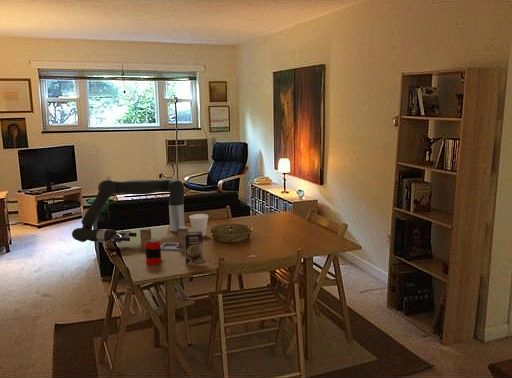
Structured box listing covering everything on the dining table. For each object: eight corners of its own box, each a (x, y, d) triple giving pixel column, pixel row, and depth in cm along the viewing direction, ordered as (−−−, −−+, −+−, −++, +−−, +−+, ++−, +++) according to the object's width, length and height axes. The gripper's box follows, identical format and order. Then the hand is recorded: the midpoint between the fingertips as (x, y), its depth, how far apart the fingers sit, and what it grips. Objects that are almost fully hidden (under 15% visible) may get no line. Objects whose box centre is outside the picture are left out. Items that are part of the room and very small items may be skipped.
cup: (211, 236, 288) (210, 217, 286) (192, 239, 284) (191, 219, 282) (206, 232, 299) (205, 213, 297) (187, 234, 295) (187, 215, 293)
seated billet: (181, 246, 265) (180, 226, 263) (189, 247, 264) (188, 226, 262) (178, 249, 261) (177, 228, 258) (186, 249, 260) (185, 228, 258)
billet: (144, 247, 269) (143, 227, 267) (152, 248, 269) (150, 227, 266) (141, 250, 265) (140, 229, 263) (148, 250, 264) (147, 230, 262)
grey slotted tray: (163, 246, 271) (162, 241, 271) (198, 247, 267) (197, 243, 267) (155, 253, 260) (154, 248, 259) (191, 254, 256) (191, 250, 255)
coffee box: (185, 265, 239) (184, 235, 236) (185, 261, 246) (183, 231, 242) (203, 264, 241) (202, 234, 238) (202, 260, 247) (201, 230, 244)
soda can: (143, 263, 244) (142, 240, 242) (156, 259, 249) (154, 237, 247) (151, 266, 239) (150, 244, 237) (164, 262, 244) (163, 240, 242)
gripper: (100, 233, 262) (127, 234, 259) (112, 226, 276) (138, 227, 273) (101, 246, 264) (128, 247, 261) (113, 238, 277) (138, 239, 275)
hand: (133, 236), depth 267 cm, fingers open, 8 cm apart
